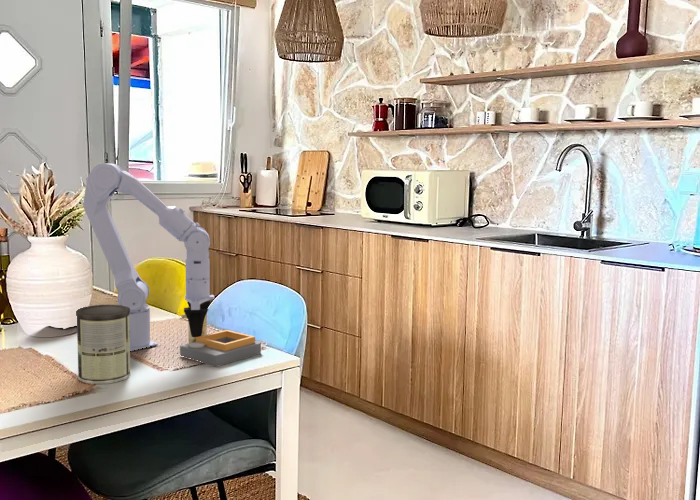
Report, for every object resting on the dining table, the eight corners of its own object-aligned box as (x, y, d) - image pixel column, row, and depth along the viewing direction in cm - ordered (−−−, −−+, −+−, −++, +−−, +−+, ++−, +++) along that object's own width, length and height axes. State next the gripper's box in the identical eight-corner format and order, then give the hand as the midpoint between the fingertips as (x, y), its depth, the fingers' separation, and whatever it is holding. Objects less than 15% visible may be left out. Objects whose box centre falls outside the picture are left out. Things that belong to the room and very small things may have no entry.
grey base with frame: (215, 366, 145) (215, 348, 144) (180, 356, 152) (180, 339, 151) (260, 353, 156) (260, 336, 156) (225, 344, 163) (225, 328, 163)
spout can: (207, 342, 165) (207, 310, 164) (206, 346, 161) (206, 314, 160) (182, 342, 164) (182, 310, 163) (180, 347, 160) (180, 314, 159)
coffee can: (67, 376, 136) (66, 309, 134) (113, 366, 143) (112, 302, 142) (94, 388, 129) (93, 317, 127) (140, 376, 137) (140, 309, 135)
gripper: (212, 283, 154) (212, 340, 156) (215, 273, 168) (215, 325, 170) (181, 283, 153) (181, 340, 154) (187, 273, 167) (187, 325, 169)
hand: (197, 332), depth 162 cm, fingers open, 7 cm apart
